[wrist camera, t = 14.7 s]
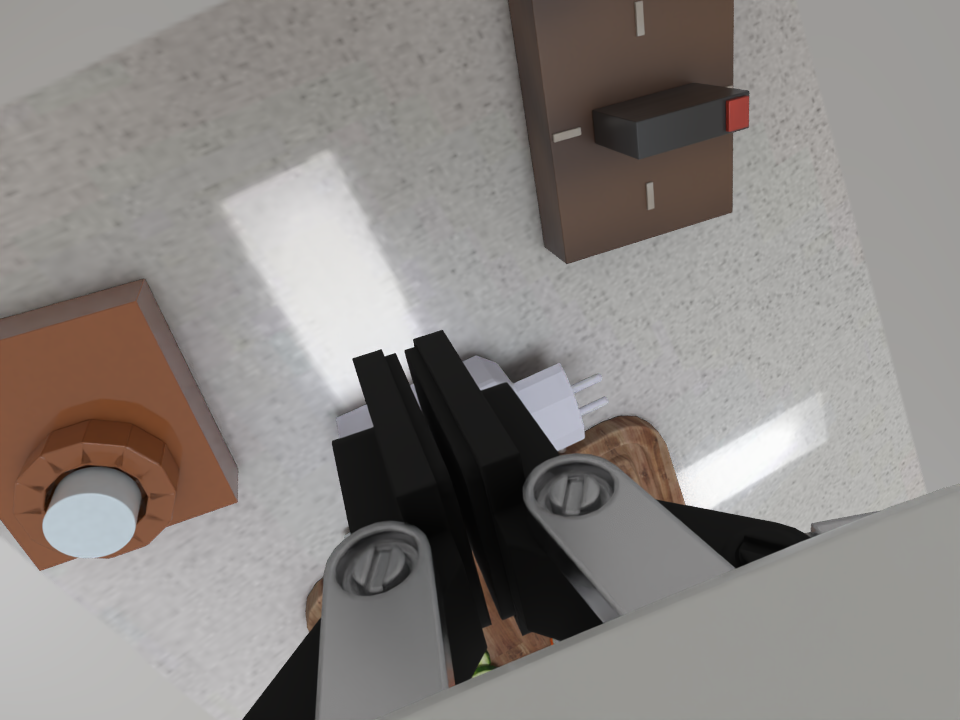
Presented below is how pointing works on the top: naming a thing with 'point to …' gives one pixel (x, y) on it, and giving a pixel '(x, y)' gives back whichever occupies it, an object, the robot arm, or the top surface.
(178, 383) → the brown base with collar
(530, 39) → the brown flat block
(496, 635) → the chopping board
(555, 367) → the charger
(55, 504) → the round grey push button
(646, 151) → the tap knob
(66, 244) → the top surface
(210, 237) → the top surface
